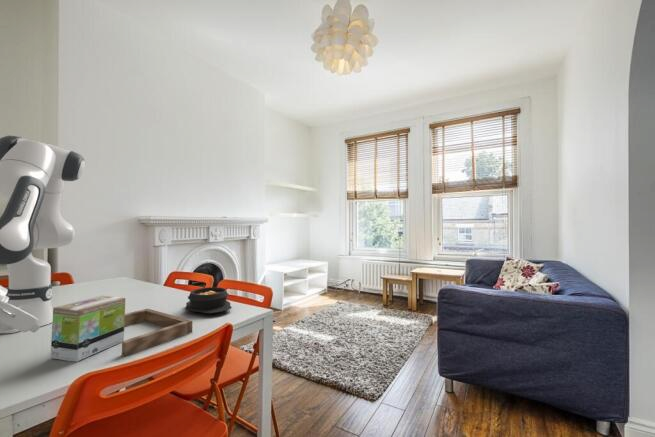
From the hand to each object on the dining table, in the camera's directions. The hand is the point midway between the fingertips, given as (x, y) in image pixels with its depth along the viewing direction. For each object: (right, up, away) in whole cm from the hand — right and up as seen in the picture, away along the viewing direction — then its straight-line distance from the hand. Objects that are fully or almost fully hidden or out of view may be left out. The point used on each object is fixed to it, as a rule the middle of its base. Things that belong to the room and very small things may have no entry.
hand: (35, 329), depth 79 cm
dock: (+12, -11, +23) cm, 29 cm away
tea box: (+6, -11, +11) cm, 16 cm away
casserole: (+25, -11, +53) cm, 60 cm away
